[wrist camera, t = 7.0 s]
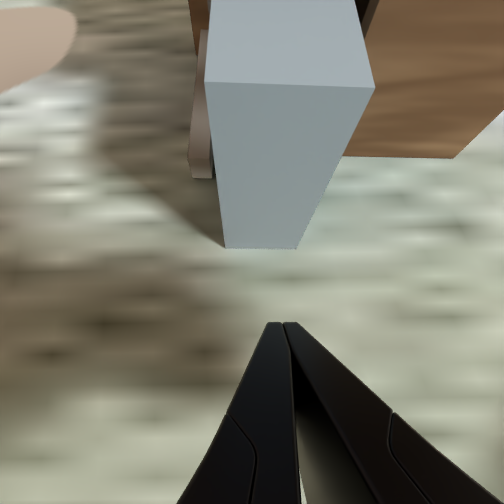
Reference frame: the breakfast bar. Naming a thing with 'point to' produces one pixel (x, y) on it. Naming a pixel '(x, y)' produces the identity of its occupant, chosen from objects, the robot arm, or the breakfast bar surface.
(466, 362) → the breakfast bar surface
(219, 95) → the gray rectangular box
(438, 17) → the cubby cabinet
